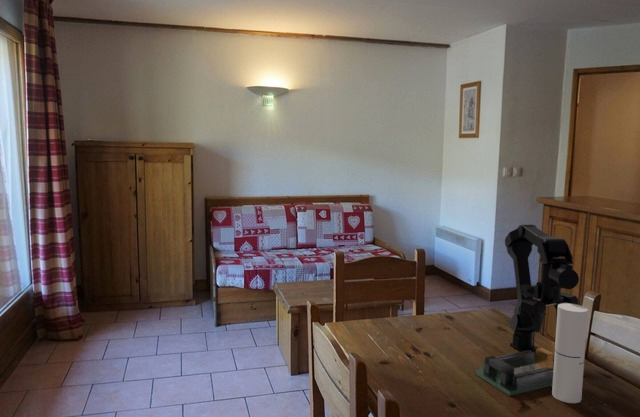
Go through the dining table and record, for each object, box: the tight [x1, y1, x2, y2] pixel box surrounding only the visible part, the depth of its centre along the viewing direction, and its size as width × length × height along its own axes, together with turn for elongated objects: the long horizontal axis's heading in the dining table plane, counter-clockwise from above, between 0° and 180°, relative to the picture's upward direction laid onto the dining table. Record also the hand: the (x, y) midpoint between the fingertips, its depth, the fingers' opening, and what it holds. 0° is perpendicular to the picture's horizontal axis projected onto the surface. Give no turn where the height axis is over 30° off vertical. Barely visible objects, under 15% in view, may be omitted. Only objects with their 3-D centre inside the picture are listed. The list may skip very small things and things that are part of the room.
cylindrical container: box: [551, 303, 589, 404], centre depth 131 cm, size 7×7×25 cm
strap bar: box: [514, 347, 555, 376], centre depth 144 cm, size 14×4×5 cm, turn 113°
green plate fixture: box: [474, 350, 554, 396], centre depth 143 cm, size 22×14×6 cm, turn 113°
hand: (547, 329), depth 148 cm, fingers open, 9 cm apart
